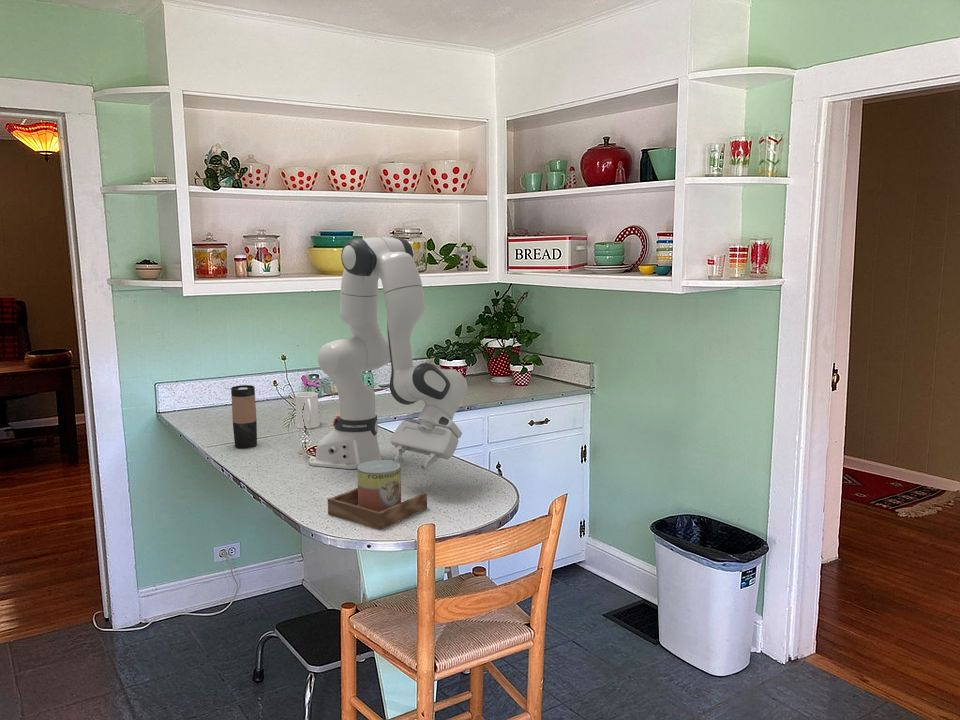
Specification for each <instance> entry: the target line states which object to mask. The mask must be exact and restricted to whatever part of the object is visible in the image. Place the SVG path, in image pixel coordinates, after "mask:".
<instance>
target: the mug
mask: <svg viewBox="0 0 960 720" xmlns="http://www.w3.org/2000/svg"><path fill="white" fill-rule="evenodd" d="M318 395H319V393H318V392H317V391H316V392H314V391H302V392H298V393H295V395H294V397H295V418H296V419H295V420H296V423H295V428H297V429H301V430H302V429H303V430H305V429H304V422H305V426H306V428H307V429H306V430H308V429H309V430H310V429H315V428H318V427H320V426H321V424H320V420H319V419H320V418H319V417H320V415H319V414H320V413H319V396H318ZM304 403H305V406H304ZM303 406H304V410H303V418H302V408H303ZM303 419H304V422H303Z"/></svg>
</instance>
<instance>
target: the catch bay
mask: <svg viewBox="0 0 960 720" xmlns="http://www.w3.org/2000/svg"><path fill="white" fill-rule="evenodd" d="M356 504H357V505H356ZM423 509H424V510H427V509H428V493H426V492H422V493H420V494H418V495H416V496H413V497H411V498H409V499H405V500H404V501H401V503H399V504H397V505H394V506H392V507H389V508H387V509H385V510H382V511H380V512H378V511H375V510H371V509H367V508H364V507H360V506H358V487H355V488H353V489H351V490H348V491H345V492H343V493H340V494H337V495H335V496H333V497H330V498H327V514H328V515H330V516H333V517H337V518H339V519H340V518H341V519H344V520H346V521H350V522H354V523H357V524H360V525H364V526H367V527H370V528H373V527H374V528H373V529H377V530H381V529H385V528H387V527H388V526H391V525H393V524H395V523H398V522H400V521H402V520H404V519H407V518H408V516H409V517H410V515H411V516H413V515H415V514H417V512H418V513H420V512H422V511H424V510H423ZM421 510H422V511H421ZM419 511H420V512H419ZM414 513H415V514H414ZM412 514H413V515H412ZM406 517H407V518H406ZM401 519H402V520H401ZM399 520H400V521H399ZM397 521H398V522H397ZM386 526H387V527H386Z"/></svg>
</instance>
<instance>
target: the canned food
mask: <svg viewBox="0 0 960 720" xmlns="http://www.w3.org/2000/svg"><path fill="white" fill-rule="evenodd" d="M401 467H402V463H401V464H400V463H398V462H396V461H395V460H391V459H382V460H371V461H366V462H363V463H360V464H359V465H358V466H357V468H356V477H357V478H356V479H357V488H358V504H357V506H360V507H364V508H367V509H371V510H375V511H378V512H380V511H382V510H385V509H387V508H389V507H392V506H394V505H397V504H399V503H401V502H402V472H401Z"/></svg>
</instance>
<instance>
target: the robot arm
mask: <svg viewBox="0 0 960 720" xmlns="http://www.w3.org/2000/svg"><path fill="white" fill-rule="evenodd" d="M340 257H341V263H342V266H343V272H342V276H341V283H340V284H341V285H340V296H339V298H340V299H339V301H340V302H339V317H340V319H341V320H342V322H344V323H345V324H346V325H348V326H349V327H350V329H351V330H350V331H351V337H346V338H341V339H336V340H332V341H330V342H327V343H325V344H323V345H322V346H321V347H320V349H319V351H318V354H317V362H318V366H319V369H321V371H322V372H323V374H325V375H327V376H328V377H329V378H330V379H331V380H332V381H333V383H334V385H335V388H336V392H337V395H338V405H339V414H337V415H336V416H335V418H334V419H333V421H332V426H333V429H331V430H330V431H329V432H328V433H326V435H324V436H323V437H322V438H320V440H319V441H318V443H317V445H316V451H315V453H316V457H313V456H312V455H311V456H310V457H309V459H308V464H309V465H310V466H314V467H324V468H334V469H335V468H336V469H344V470H345V469H346V470H357V466H358V465H359V464H360V463H363V462H366V461H371V460H383V457H382V454H381V449H380V447H379V445H380V444H379V441H378V432H379V428H378V427H379V425H378V424H379V423H378V422H379V421H378V415H377V413H376V392H375V391H374V389H373V388H372V387H370V386H369V385H367V384H365V382H364V380H363V376H362V373H363V372H369V371H374V370H377V369H380V368H382V367H384V366H387V365H388V364H389V363H390V366H391V369H390V370H391V371H390V379H389V380H390V381H389V391H390V395H392V397H393V399H394V400H396V401H397V402H398V403H400V404H402V405H409V406H410V405H412V404H415V403H417V402H419V401H422V402H424V406H423V408H422V410H421V412H420V414H419V415H418V417H417V418H416V419H415V418H411V417H409V418H407V419H404V420H402V422H401V423H400V424H399V425H398V426H397V427H396V429H395V430H394V432H393V433H392V435H391V436H390V439H389V441H390V443H391V444H392V446H393V447H395V449H396V456H395V458H394V461H396V462H398V463H400V464H401V465H402V464H403V461H404V460H405V458H404V457H403V454H405V453H406V451H407V452H413V453H417V454H421V455H425V456H429V457H428V459H426V460H423V461H422V463H421V465H420V467H421V469H422V470H425V471H428V470H429V469H430V467H431V466H432V465H433V464H434V463H436V462H437V461H438V460H439V459H443V460H449V459H451V458H452V457H453V455H454V453H455V452H456V450H457V447H458V445H459V439H460V438H461V437H462V434H463V432H462V431H461V429H460V428H459V427H458V426H457V424H456V423H455V422H454V421H453V420H454V415H455V414H456V412H458V410H459V409H460V407H461V405H462V403H463V401H464V398H465V396H466V393H467V390H468V382H467V379H466V378H465V376H464V375H463V374H462V373H461V372H459V371H458V370H455V369H451V368H450V369H446V368H445V369H443V368H439V367H437V366H436V365H434V364H432V363H428V362H424V363H420V364H417V365H414V362H413V353H412V345H411V336H412V331H413V329H414V327H416V324H417V323H418V321H419V320H420V319H421V317H422V316H423V314H424V313H425V310H426V298H425V292H424V287H423V282H422V279H421V275H420V272H419V270H418V269H419V268H418V267H417V264H416V262H415V259H414V250H413V247H412V244H411V243H410V242H409V241H408V240H407V239H404V238H401V237H397V236H396V237H394V236H393V237H389V236H375V237H374V236H373V237H365V238H363V237H362V238H361V237H358V238H353V239H349V240H348V241H346V242H345V243H344V245H343V246H342V250H341V255H340ZM379 280H380V281H381V285H382V290H383V295H384V301H385V308H386V317H387V320H386V321H387V323H386V326H387V327H386V328H387V330H386V332H387V337H385V336H384V334H383V333H382V332H381V329H380V327H379V326H380V325H379V322H378V297H379V296H378V295H379V294H378V293H379Z"/></svg>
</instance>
